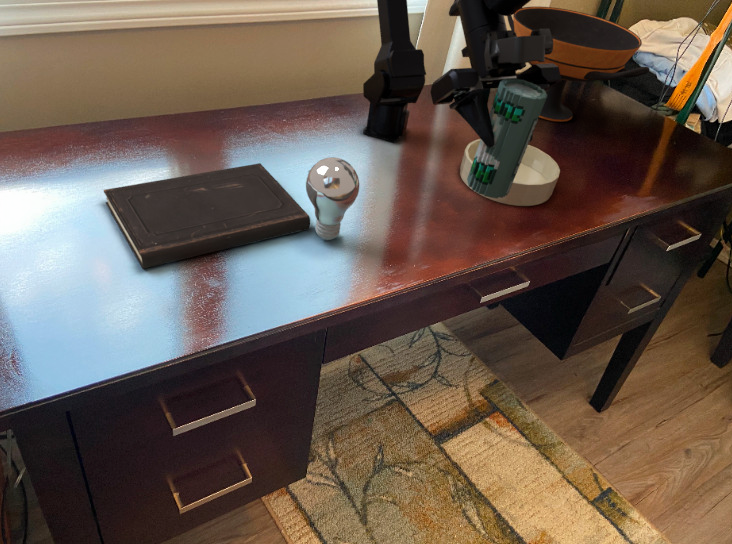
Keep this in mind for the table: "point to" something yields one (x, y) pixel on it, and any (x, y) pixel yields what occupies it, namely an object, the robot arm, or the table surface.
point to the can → (506, 137)
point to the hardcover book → (203, 213)
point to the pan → (522, 176)
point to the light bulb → (331, 194)
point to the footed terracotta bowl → (578, 50)
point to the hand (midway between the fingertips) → (510, 144)
